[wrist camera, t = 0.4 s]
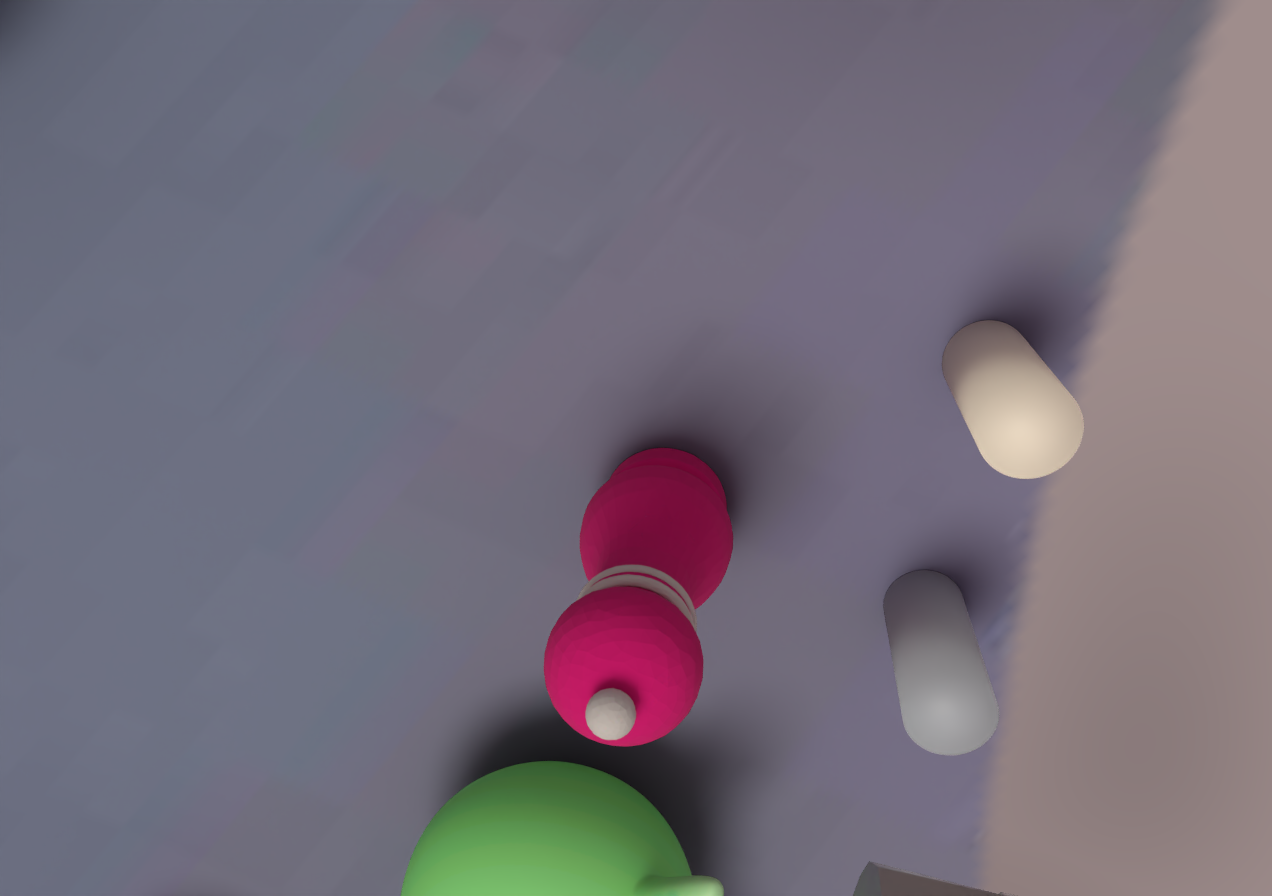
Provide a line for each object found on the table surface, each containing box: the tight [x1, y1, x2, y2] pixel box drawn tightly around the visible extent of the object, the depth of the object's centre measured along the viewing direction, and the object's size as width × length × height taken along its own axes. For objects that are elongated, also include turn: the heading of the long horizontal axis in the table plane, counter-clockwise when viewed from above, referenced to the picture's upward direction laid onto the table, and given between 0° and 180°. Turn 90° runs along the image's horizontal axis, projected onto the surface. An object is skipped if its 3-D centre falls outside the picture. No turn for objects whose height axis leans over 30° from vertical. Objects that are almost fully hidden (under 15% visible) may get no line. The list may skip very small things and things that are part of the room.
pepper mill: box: [544, 448, 733, 747], centre depth 47 cm, size 7×7×20 cm
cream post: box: [942, 320, 1084, 479], centre depth 48 cm, size 4×4×10 cm
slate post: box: [883, 570, 999, 755], centre depth 52 cm, size 4×4×10 cm
